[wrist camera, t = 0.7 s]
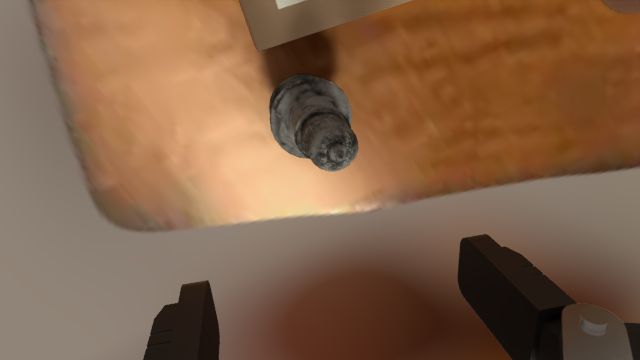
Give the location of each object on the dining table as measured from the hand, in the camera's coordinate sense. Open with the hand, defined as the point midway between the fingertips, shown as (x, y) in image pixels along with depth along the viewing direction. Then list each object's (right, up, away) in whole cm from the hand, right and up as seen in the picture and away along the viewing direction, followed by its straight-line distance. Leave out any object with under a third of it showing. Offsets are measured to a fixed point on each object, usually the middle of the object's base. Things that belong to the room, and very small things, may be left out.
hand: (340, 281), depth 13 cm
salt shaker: (-2, +9, +20) cm, 22 cm away
